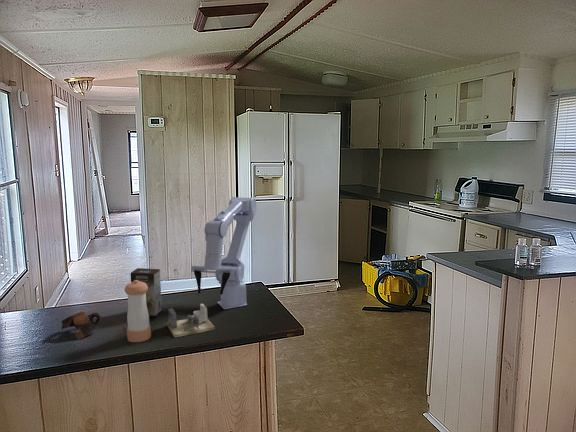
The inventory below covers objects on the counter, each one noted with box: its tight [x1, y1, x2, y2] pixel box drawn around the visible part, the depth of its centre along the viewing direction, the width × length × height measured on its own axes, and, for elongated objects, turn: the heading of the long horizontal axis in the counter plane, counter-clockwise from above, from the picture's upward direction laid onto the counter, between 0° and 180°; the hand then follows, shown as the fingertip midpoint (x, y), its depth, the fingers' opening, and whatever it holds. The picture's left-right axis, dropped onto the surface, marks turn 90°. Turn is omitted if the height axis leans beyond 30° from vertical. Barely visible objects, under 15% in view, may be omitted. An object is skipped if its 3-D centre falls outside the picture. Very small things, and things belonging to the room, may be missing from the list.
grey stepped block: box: [186, 303, 208, 323], centre depth 150 cm, size 6×7×5 cm
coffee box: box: [130, 267, 162, 317], centre depth 161 cm, size 9×6×16 cm
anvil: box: [167, 307, 178, 329], centre depth 147 cm, size 2×6×5 cm, turn 27°
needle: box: [193, 318, 199, 325], centre depth 146 cm, size 1×4×2 cm, turn 27°
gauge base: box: [166, 317, 216, 339], centre depth 148 cm, size 14×11×2 cm
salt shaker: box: [124, 280, 152, 343], centre depth 139 cm, size 7×7×19 cm
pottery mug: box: [61, 311, 102, 341], centre depth 144 cm, size 12×10×8 cm
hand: (210, 293), depth 152 cm, fingers open, 7 cm apart
